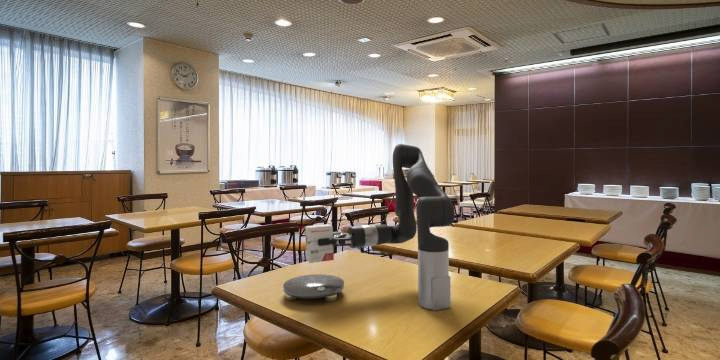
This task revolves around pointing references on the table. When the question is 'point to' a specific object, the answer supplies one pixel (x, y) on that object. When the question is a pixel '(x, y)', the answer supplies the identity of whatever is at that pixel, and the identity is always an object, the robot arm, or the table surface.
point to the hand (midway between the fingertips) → (316, 241)
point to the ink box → (312, 248)
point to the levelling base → (313, 287)
